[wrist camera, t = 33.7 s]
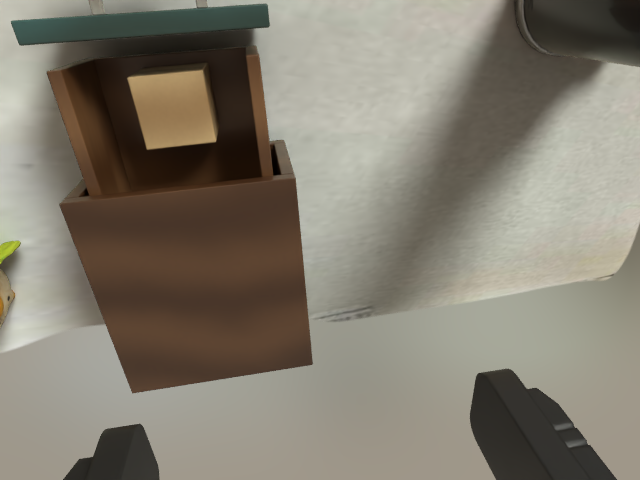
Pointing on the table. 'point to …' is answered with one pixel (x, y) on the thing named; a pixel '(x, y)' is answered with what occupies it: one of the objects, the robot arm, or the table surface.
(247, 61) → the drawer
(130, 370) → the cabinet
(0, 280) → the bird rattle
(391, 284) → the table surface
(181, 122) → the beech block
